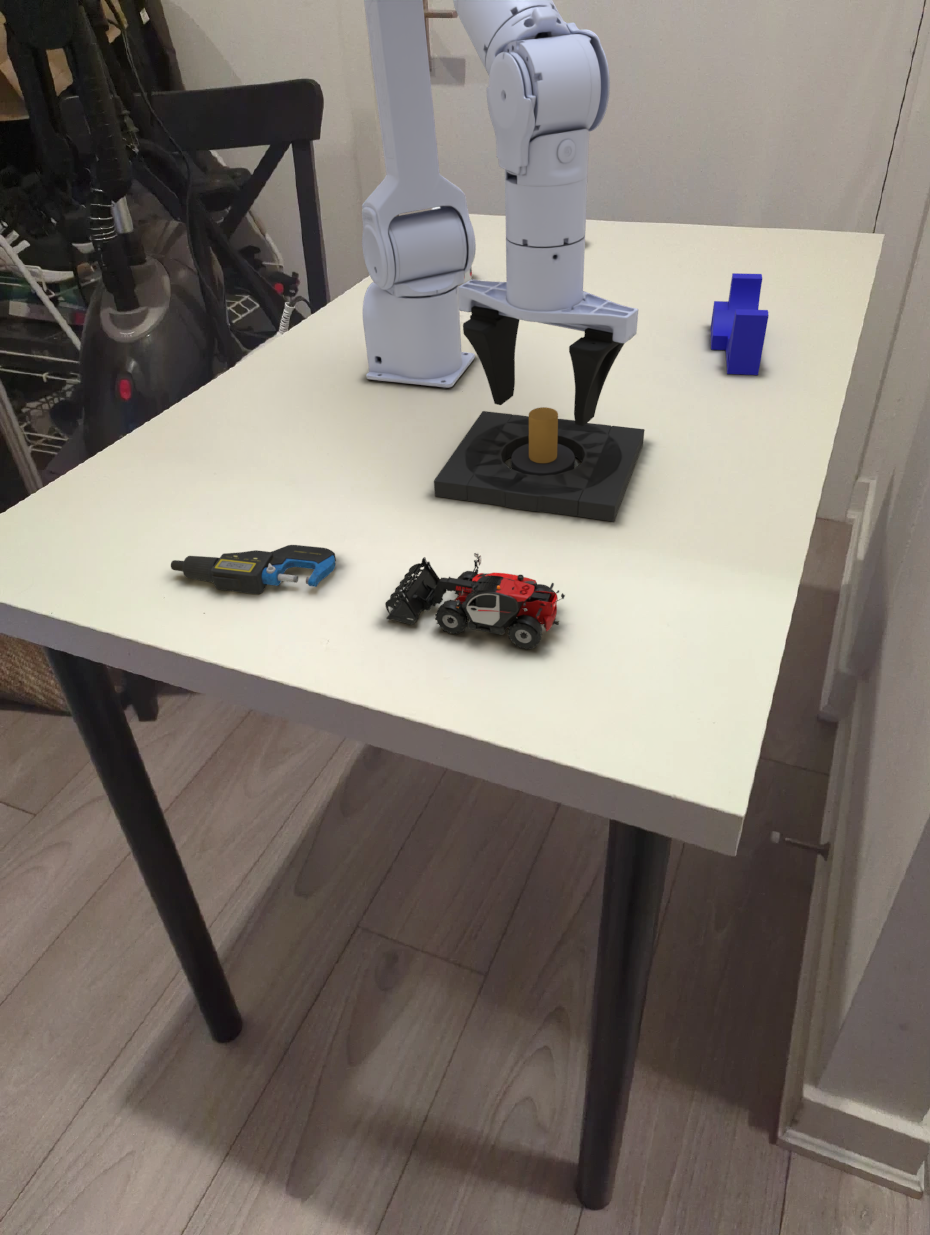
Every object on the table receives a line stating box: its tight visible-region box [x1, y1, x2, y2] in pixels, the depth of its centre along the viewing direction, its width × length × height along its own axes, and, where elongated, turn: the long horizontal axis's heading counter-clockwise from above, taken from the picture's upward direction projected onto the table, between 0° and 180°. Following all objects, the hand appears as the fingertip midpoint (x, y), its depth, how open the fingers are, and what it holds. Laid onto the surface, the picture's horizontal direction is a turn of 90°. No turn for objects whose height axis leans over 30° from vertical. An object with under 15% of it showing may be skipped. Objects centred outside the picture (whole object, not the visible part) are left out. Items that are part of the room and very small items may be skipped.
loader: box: [385, 552, 566, 650], centre depth 58 cm, size 12×5×5 cm, turn 69°
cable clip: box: [710, 272, 770, 376], centre depth 90 cm, size 12×4×6 cm, turn 168°
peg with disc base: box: [510, 406, 576, 476], centre depth 73 cm, size 5×5×5 cm
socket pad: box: [433, 410, 645, 522], centre depth 74 cm, size 15×13×2 cm
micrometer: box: [170, 544, 337, 595], centre depth 64 cm, size 12×2×5 cm
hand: (543, 410), depth 71 cm, fingers open, 7 cm apart
